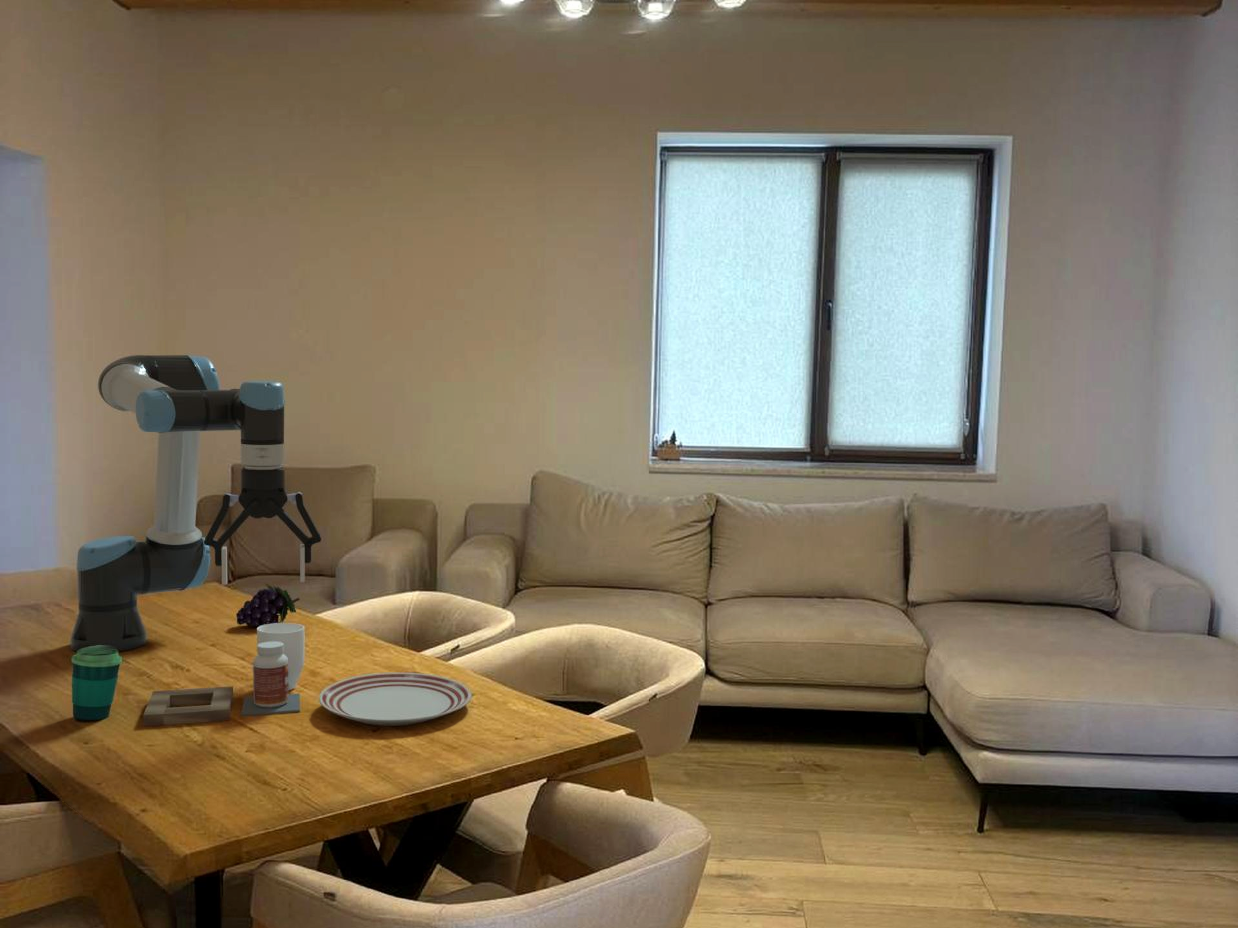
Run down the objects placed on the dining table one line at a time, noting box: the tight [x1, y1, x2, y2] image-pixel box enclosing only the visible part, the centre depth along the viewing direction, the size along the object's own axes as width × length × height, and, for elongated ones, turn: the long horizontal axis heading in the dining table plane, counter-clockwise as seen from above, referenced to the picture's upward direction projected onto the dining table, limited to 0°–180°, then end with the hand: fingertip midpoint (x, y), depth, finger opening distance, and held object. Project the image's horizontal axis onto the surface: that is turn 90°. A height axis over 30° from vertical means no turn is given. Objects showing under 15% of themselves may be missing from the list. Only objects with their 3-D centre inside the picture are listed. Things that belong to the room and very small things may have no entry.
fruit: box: [235, 583, 301, 628], centre depth 262 cm, size 10×11×15 cm
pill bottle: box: [252, 641, 290, 708], centre depth 203 cm, size 6×6×11 cm
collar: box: [142, 685, 234, 727], centre depth 200 cm, size 14×14×2 cm
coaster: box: [241, 693, 301, 717], centre depth 204 cm, size 10×10×1 cm
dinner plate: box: [318, 671, 472, 727], centre depth 203 cm, size 28×27×3 cm
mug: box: [256, 622, 306, 691], centre depth 215 cm, size 12×9×12 cm
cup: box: [71, 645, 123, 723], centre depth 196 cm, size 8×8×12 cm
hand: (263, 582), depth 203 cm, fingers open, 13 cm apart
